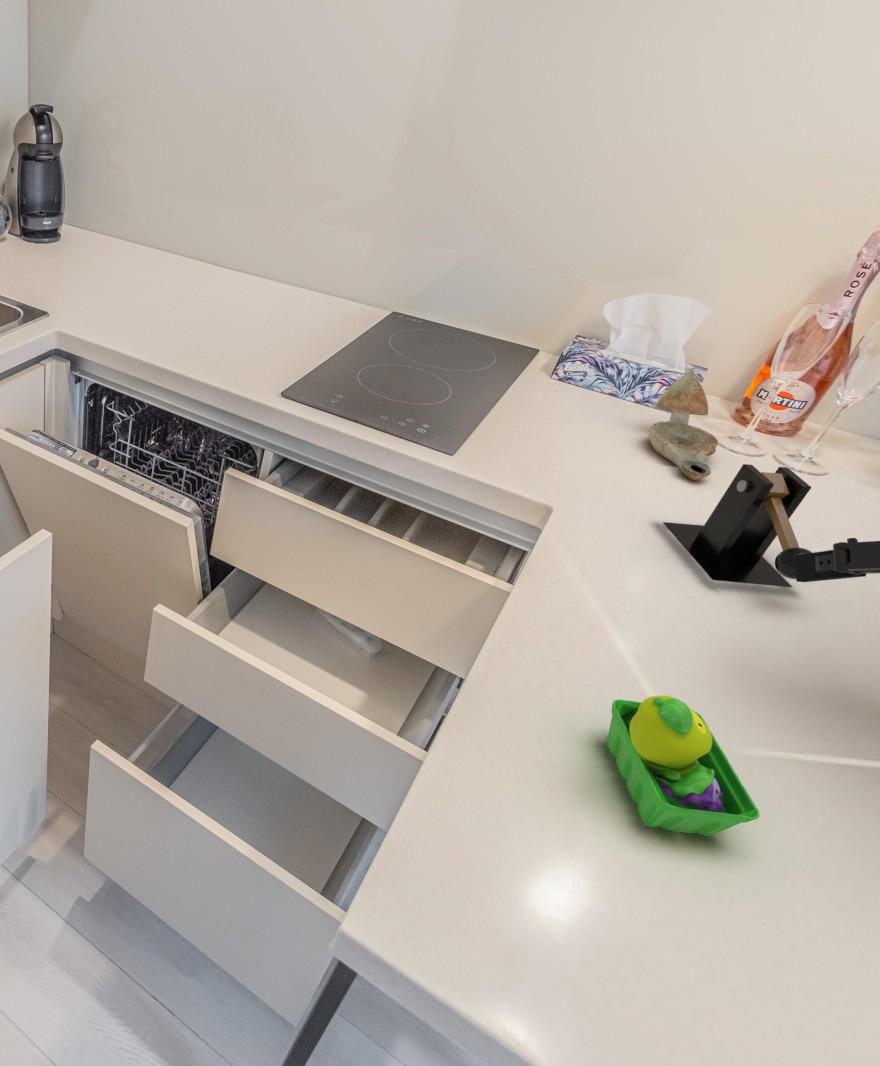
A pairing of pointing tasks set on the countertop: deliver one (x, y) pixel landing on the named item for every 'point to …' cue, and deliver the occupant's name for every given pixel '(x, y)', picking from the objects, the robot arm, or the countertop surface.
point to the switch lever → (782, 527)
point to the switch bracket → (741, 529)
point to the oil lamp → (684, 428)
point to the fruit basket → (676, 768)
